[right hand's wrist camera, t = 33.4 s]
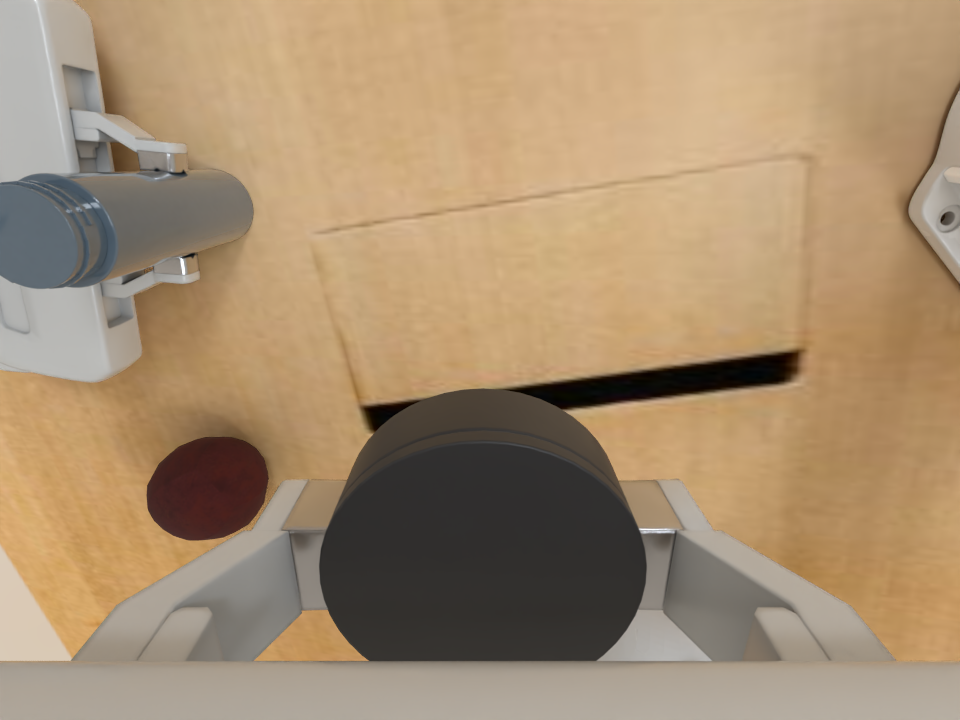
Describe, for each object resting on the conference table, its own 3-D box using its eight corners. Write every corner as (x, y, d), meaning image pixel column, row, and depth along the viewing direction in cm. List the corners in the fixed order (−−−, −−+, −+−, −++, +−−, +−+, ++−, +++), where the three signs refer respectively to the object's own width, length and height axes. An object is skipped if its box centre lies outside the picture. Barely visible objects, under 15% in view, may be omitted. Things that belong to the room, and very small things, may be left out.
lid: (482, 648, 12) (482, 738, 10) (292, 509, 10) (251, 583, 8) (672, 510, 10) (714, 584, 8) (482, 327, 9) (483, 370, 7)
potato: (164, 454, 39) (100, 512, 33) (233, 399, 38) (180, 449, 31) (235, 516, 41) (189, 583, 35) (303, 466, 40) (268, 526, 33)
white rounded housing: (598, 745, 52) (640, 954, 38) (485, 594, 44) (487, 786, 31) (813, 666, 48) (948, 869, 34) (727, 487, 40) (854, 652, 27)
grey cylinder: (204, 153, 32) (-13, 145, 18) (267, 202, 33) (108, 232, 19) (169, 210, 33) (-60, 245, 19) (230, 256, 34) (56, 321, 20)
